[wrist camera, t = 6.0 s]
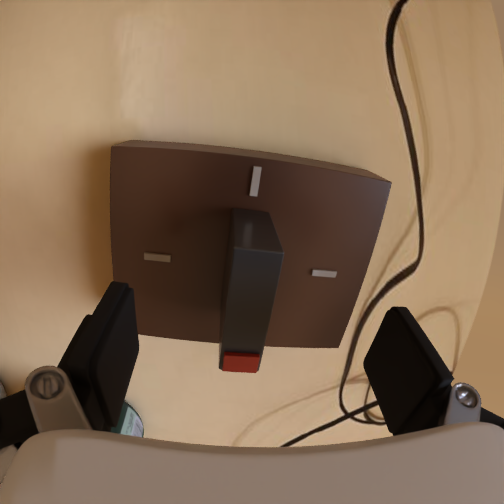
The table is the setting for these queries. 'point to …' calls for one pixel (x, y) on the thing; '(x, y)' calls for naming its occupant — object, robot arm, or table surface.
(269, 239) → the black block
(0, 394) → the planter
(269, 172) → the panel
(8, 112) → the table surface
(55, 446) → the robot arm
